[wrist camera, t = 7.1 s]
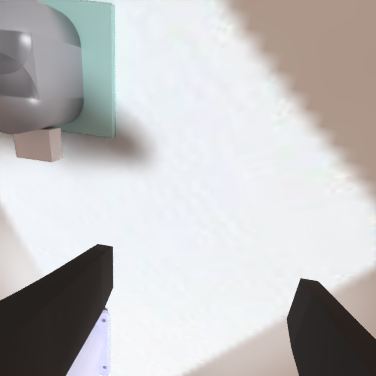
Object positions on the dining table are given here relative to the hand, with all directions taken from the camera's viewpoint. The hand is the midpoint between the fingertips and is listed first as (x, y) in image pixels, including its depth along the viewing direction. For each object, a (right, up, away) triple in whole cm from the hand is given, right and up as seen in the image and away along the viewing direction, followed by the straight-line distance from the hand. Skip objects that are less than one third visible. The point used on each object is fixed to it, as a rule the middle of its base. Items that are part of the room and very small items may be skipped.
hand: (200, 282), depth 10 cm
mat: (-9, +12, +7) cm, 17 cm away
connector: (-9, +11, +7) cm, 16 cm away
